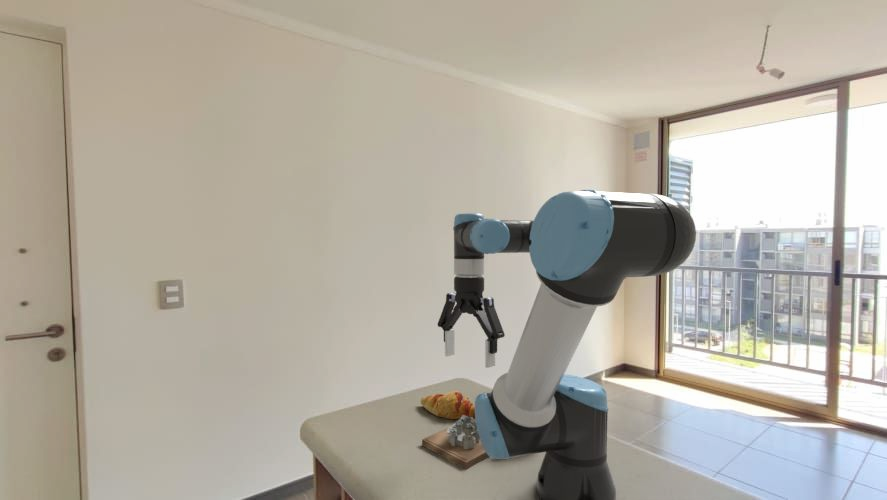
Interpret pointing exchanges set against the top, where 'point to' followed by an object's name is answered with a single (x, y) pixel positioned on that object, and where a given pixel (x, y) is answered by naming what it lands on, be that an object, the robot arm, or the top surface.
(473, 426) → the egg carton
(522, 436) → the robot arm
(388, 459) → the top surface
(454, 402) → the croissant
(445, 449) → the walnut board
